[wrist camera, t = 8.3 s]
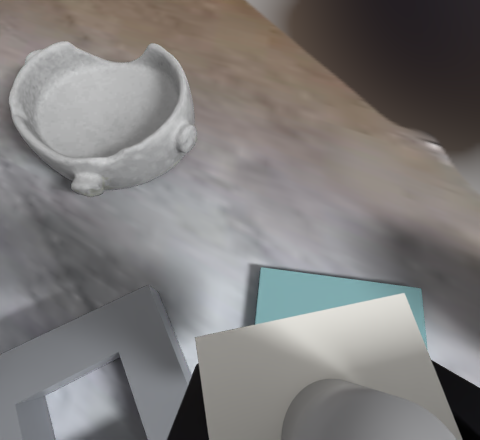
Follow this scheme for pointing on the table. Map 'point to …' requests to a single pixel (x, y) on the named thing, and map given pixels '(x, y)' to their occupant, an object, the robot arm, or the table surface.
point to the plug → (325, 378)
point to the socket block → (97, 365)
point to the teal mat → (323, 295)
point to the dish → (104, 115)
